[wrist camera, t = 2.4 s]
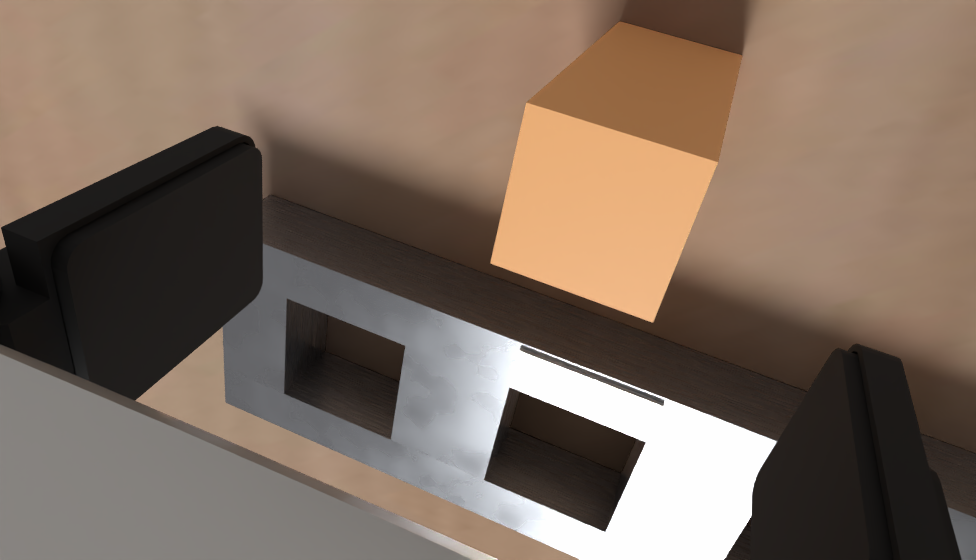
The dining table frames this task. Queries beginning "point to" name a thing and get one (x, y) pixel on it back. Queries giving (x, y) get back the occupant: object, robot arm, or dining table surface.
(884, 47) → the dining table surface
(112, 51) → the dining table surface
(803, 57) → the dining table surface
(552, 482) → the peg board
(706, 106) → the square peg
